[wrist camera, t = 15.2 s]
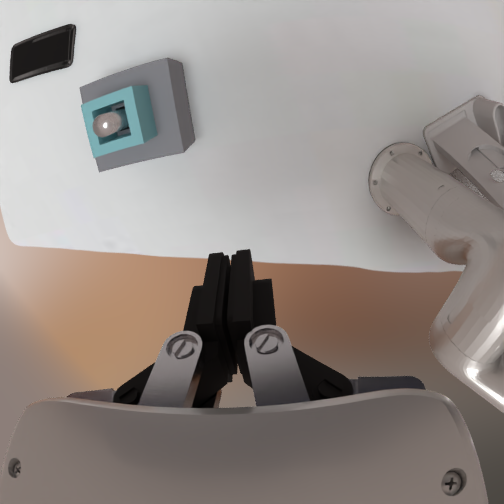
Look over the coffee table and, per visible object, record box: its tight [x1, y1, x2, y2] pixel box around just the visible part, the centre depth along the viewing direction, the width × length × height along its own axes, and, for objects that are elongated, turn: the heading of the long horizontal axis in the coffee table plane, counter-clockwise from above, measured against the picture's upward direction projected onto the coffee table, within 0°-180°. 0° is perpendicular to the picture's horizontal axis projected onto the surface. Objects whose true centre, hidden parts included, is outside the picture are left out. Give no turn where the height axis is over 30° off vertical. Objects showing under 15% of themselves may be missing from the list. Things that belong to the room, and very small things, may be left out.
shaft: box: [93, 108, 129, 137], centre depth 29 cm, size 2×2×14 cm
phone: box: [9, 24, 76, 83], centre depth 28 cm, size 8×1×15 cm
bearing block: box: [80, 58, 195, 172], centre depth 33 cm, size 12×12×8 cm
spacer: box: [81, 85, 158, 158], centre depth 27 cm, size 6×6×5 cm
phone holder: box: [423, 95, 504, 210], centre depth 29 cm, size 17×10×18 cm, turn 126°
